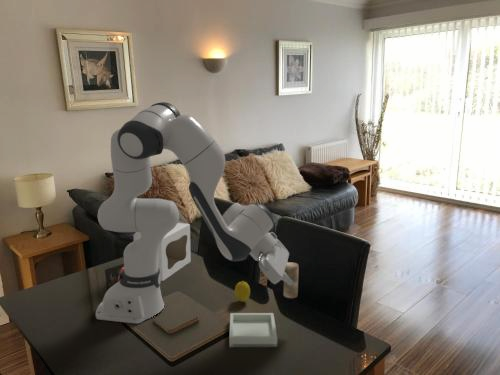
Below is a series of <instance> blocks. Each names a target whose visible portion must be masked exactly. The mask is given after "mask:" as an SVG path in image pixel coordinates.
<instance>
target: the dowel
mask: <svg viewBox="0 0 500 375" xmlns="http://www.w3.org/2000/svg"><path fill="white" fill-rule="evenodd" d="M288 262H289V261H288ZM285 272H286V275H288V276H289V277H291V278H292V279H293V280H294V282H293V284H292V285H288V284H287V283H286V282H285V281H283V297H284V298H287V299H295V298H297V297H298V292H299V263H296V262H293V261H292V262H289V263H287V264H286V268H285Z"/></svg>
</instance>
